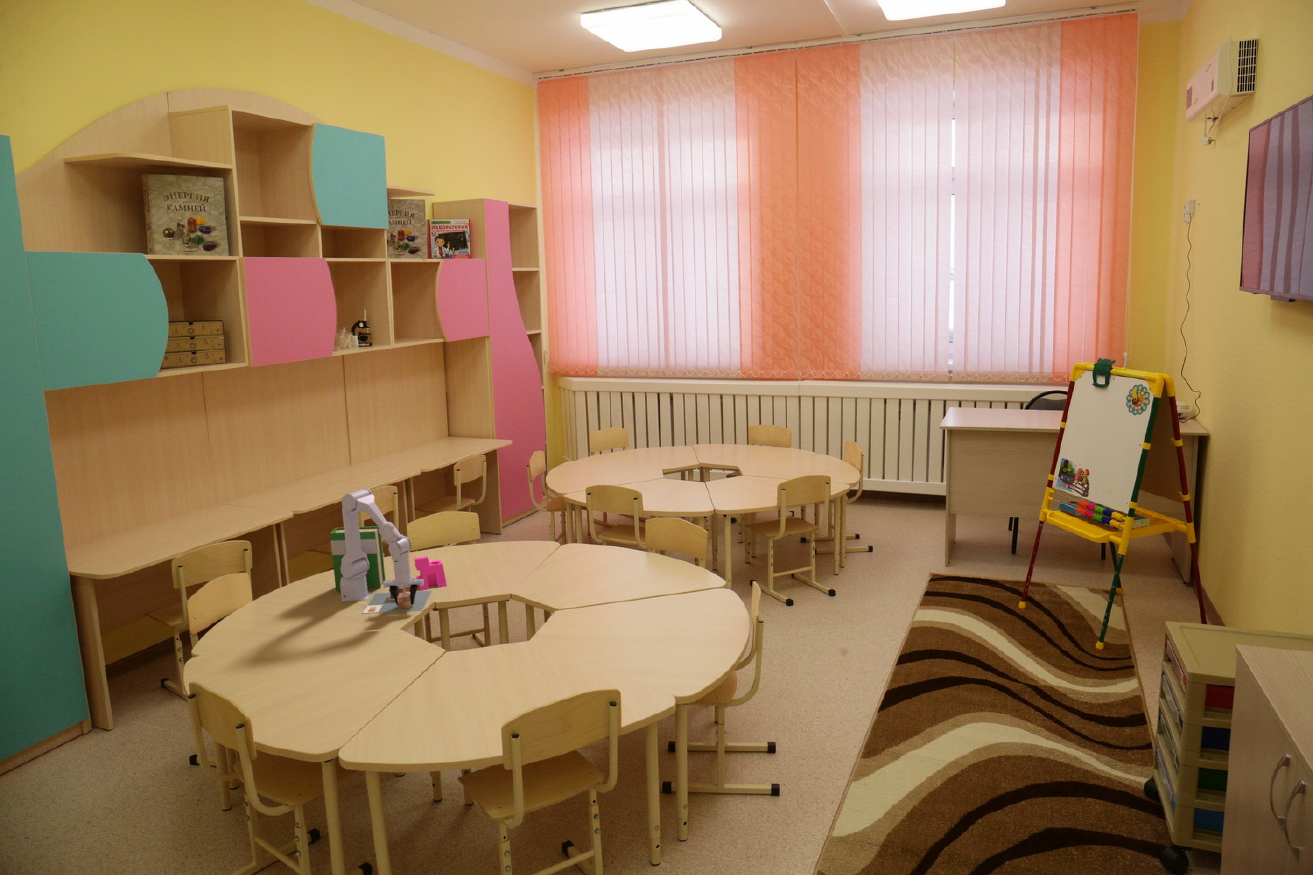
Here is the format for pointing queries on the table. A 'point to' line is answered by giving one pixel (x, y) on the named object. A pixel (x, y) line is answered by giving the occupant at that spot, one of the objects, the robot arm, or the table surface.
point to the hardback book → (369, 545)
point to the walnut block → (400, 591)
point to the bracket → (430, 572)
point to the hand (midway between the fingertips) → (405, 604)
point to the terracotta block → (404, 601)
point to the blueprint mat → (386, 604)
